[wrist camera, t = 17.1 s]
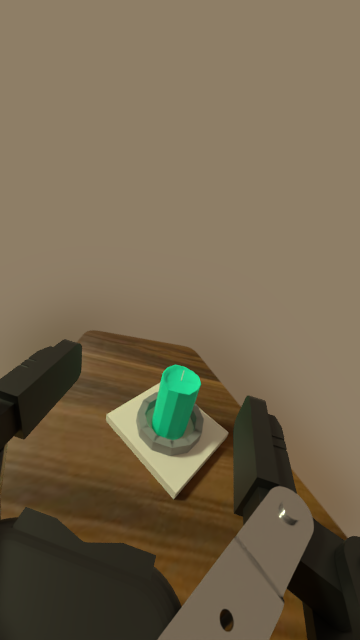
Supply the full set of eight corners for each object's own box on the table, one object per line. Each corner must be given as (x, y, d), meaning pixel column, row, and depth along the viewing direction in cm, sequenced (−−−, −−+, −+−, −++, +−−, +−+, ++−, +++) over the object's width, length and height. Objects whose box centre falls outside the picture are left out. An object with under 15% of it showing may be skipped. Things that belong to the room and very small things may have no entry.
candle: (147, 413, 41) (158, 359, 36) (178, 407, 44) (193, 356, 38) (157, 444, 37) (172, 387, 31) (191, 436, 39) (210, 382, 34)
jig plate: (226, 438, 42) (232, 425, 41) (173, 499, 32) (179, 485, 30) (163, 385, 50) (166, 372, 49) (106, 420, 40) (107, 406, 39)
